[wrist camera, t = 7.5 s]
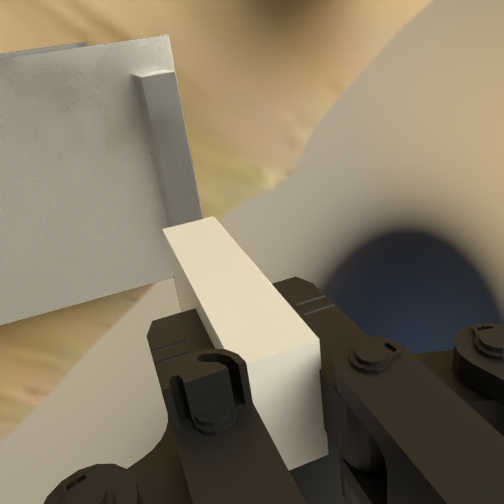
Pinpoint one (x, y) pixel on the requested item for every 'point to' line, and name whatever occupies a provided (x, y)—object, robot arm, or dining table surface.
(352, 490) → the robot arm
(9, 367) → the dining table surface
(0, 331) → the dining table surface
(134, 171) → the lid
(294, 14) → the dining table surface
